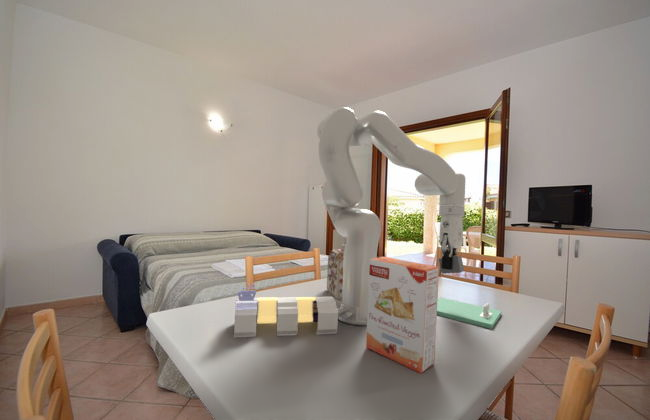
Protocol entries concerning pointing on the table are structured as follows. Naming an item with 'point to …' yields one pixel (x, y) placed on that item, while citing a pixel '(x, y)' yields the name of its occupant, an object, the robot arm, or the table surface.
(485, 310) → the board
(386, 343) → the cracker box
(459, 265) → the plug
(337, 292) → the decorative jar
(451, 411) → the table surface
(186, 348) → the table surface
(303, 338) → the table surface
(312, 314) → the white and yellow block
